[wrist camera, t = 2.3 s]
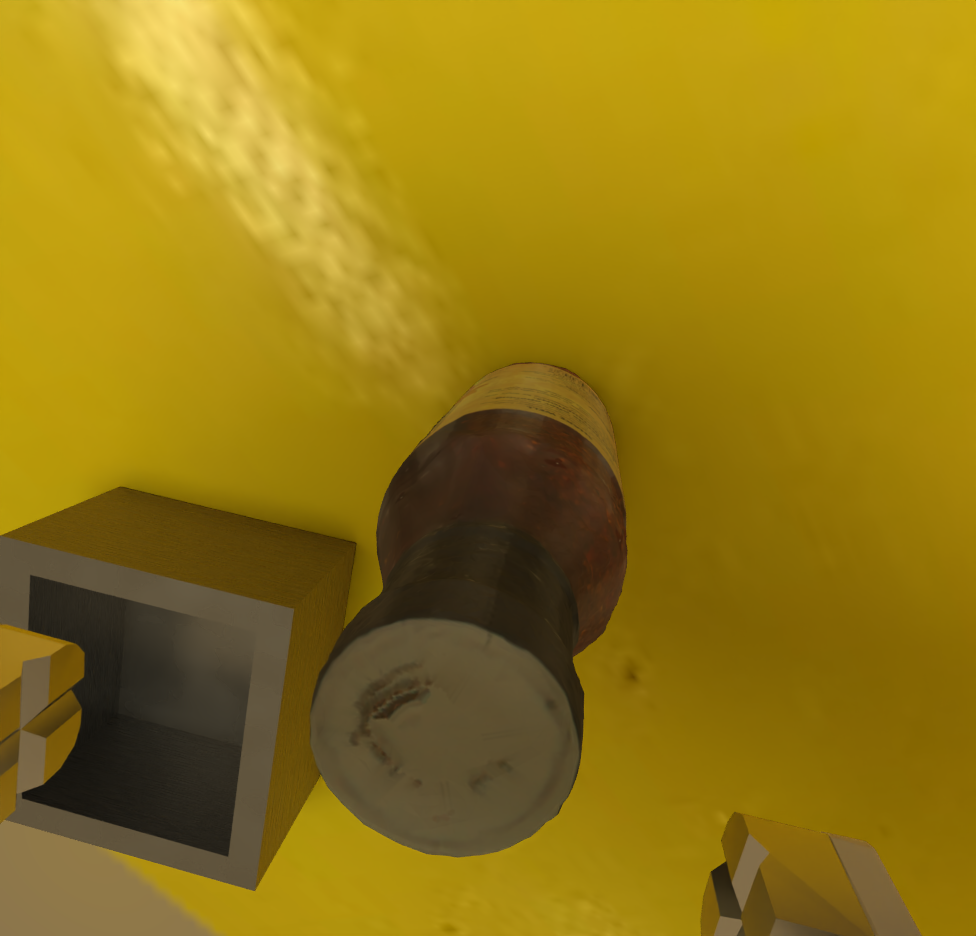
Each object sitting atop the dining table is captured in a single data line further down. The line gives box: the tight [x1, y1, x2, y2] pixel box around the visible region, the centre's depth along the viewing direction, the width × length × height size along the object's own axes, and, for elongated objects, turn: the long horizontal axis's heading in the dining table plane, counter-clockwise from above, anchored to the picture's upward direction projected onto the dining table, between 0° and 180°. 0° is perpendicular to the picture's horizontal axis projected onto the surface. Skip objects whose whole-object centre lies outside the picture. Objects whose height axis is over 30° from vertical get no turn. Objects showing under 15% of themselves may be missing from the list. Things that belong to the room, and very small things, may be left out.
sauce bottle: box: [310, 362, 627, 857], centre depth 20 cm, size 7×6×20 cm
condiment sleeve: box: [0, 487, 356, 891], centre depth 30 cm, size 11×12×7 cm
